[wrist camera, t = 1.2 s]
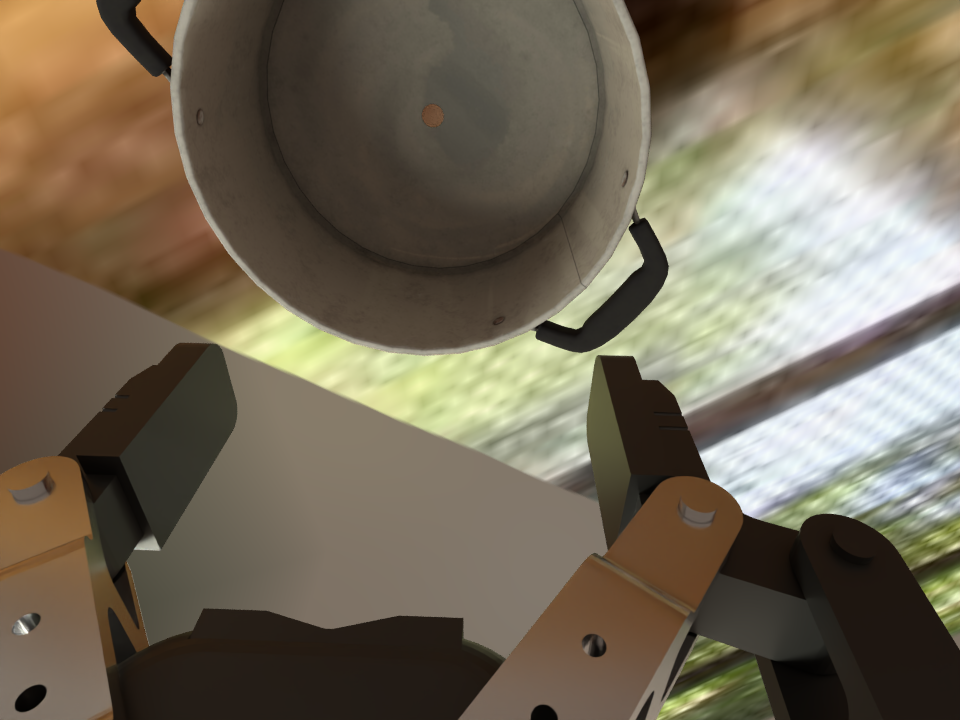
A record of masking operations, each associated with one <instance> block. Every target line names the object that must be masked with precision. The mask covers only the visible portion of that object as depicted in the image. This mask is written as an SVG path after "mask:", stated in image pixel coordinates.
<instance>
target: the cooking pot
mask: <svg viewBox="0 0 960 720" xmlns="http://www.w3.org/2000/svg"><path fill="white" fill-rule="evenodd" d="M140 1H141V0H96V2H97V7H98V10H99V13H100V16H101V18H102V20H103V21H104V23H105V24H106V26H107V27H108V29H109V30H110V31H111V33H112V34H113V35H114V36H115V37H116V38H117V39H118V40H119V42H120V43H121V44H122V45H123V46H124V47H125V48H126V49H127V50H128V51H129V52H130V53H131V54H132V55H133V56H134V57H135V59H136V60H137V61H138V62H139V63H140V64H141V65H142V66H143V67H144V68H145V69H146V70H147V71H148V72H149V73H150V74H151V75H152V76H155V77H157V76H159V75H161V74H162V73H163V75H164V76H165V77H166V78H167V79H168V81H169V82H170V90H171V100H172V111H173V121H174V131H175V136H176V140H177V144H178V148H179V151H180V155H181V159H182V162H183V166H184V170H185V173H186V177H187V180H188V182H189V184H190V186H191V188H192V191H193V193H194V195H195V197H196V199H197V201H198V204H199V206H200V208H201V210H202V212H203V214H204V217H205V219H206V220H207V222H208V223H209V225H210V226H211V228H212V229H213V231H214V232H215V234H216V235H217V237H218V238H219V240H220V241H221V243H222V244H223V246H224V247H225V249H226V250H227V252H228V253H229V255H230V256H231V257H232V258H233V259H234V260H235V261H236V262H237V264H238V265H239V266H240V267H241V268H242V269H243V270H244V271H245V272H246V274H247V275H248V276H249V277H250V278H251V279H252V280H253V281H254V282H255V284H256V285H258V286H259V287H260V288H261V289H262V290H264V291H265V292H266V293H267V294H268V295H270V296H271V297H272V298H273V299H274V300H276V301H277V302H278V303H279V304H281V305H282V306H283V307H284V308H285V309H287V310H288V311H290V312H291V313H293V314H295V315H296V316H298V317H300V318H301V319H303V320H305V321H306V322H308V323H310V324H311V325H313V326H315V327H316V328H318V329H320V330H322V331H324V332H327V333H329V334H332V335H334V336H337V337H339V338H341V339H344V340H346V341H349V342H351V343H354V344H357V345H361V346H365V347H370V348H374V349H378V350H382V351H386V352H390V353H401V354H412V355H423V356H428V355H444V354H459V353H464V352H468V351H473V350H477V349H481V348H486V347H490V346H494V345H497V344H499V343H502V342H504V341H506V340H509V339H511V338H514V337H516V336H519V335H521V334H523V333H526V332H528V331H530V330H532V331H536V339H538V340H540V341H543V342H546V343H548V344H551V345H553V346H556V347H559V348H562V349H565V350H568V351H572V352H579V353H583V352H588V351H591V350H593V349H596V348H598V347H600V346H602V345H603V344H605V343H606V342H608V341H609V340H611V339H612V338H614V337H615V336H617V335H618V334H619V333H620V332H621V331H622V330H623V329H624V328H626V327H627V326H628V325H629V324H630V323H631V322H632V321H633V320H634V319H635V318H636V317H637V316H638V315H639V314H640V313H641V312H642V311H643V310H644V309H645V308H646V307H647V306H648V305H649V304H650V303H651V302H652V301H653V299H654V298H655V296H656V295H657V294H658V292H659V291H660V289H661V288H662V287H663V284H664V282H665V280H666V277H667V275H668V267H669V265H668V262H667V258H666V255H665V253H664V251H663V249H662V247H661V245H660V243H659V241H658V239H657V237H656V235H655V233H654V231H653V230H652V228H651V226H650V224H649V222H648V221H647V220H646V219H645V218H642V219H640V218H639V216H638V213H637V210H636V204H637V201H638V198H639V195H640V192H641V189H642V186H643V183H644V180H645V174H646V167H647V161H648V154H649V148H650V142H651V102H650V85H649V80H648V75H647V71H646V66H645V61H644V57H643V52H642V47H641V43H640V38H639V35H638V33H637V31H636V28H635V26H634V23H633V21H632V19H631V16H630V14H629V11H628V9H627V7H626V4H625V2H624V0H184V3H183V7H182V10H181V14H180V18H179V21H178V25H177V28H176V32H175V36H174V43H173V56H172V57H171V56H170V55H169V54H168V53H167V52H166V51H165V50H164V48H163V47H162V46H161V45H160V44H159V43H158V42H157V41H156V40H155V39H154V38H153V37H152V36H151V35H150V33H149V32H148V31H147V29H146V28H145V27H144V26H143V24H142V23H141V22H140V21H139V19H138V18H137V17H136V8H135V7H136V6H137V5H138V4H139V3H140ZM171 65H172V69H170V66H171ZM429 104H436V105H438V106H439V107H440V108H441V109H442V110H443V113H444V119H443V122H442V123H441V124H440V126H438V127H429V126H427V125H426V124H425V123H424V121H423V119H422V111H423V109H424V108H425V106H427V105H429ZM631 219H633V222H634V223H633V224H632V225H631V226H629V231H630V233H631V234H632V236H633V238H634V240H635V241H636V243H637V245H638V247H639V249H640V251H641V254H642V256H643V259H644V263H643V265H642V267H640V268H639V269H637V270H636V271H634V272H633V273H632V274H631V275H630V276H629V277H628V279H627V280H626V281H625V282H624V283H623V284H622V285H621V286H620V287H619V288H618V289H617V290H616V291H615V293H614V294H613V295H612V296H611V297H610V298H609V299H608V300H607V301H606V302H605V303H604V304H603V305H602V306H601V307H600V308H599V309H598V310H596V311H595V312H594V313H593V314H592V315H591V316H590V317H589V318H588V319H587V320H586V321H585V323H584V325H583V326H582V327H581V328H579V329H572V328H568V327H564V326H561V325H558V324H556V323H553V322H550V321H547V319H549V318H551V317H552V316H554V315H556V314H557V313H559V312H560V311H561V310H562V309H563V308H564V307H566V306H567V305H568V304H569V303H570V302H571V301H572V300H573V299H575V298H576V297H577V296H578V295H579V294H580V293H581V292H583V291H584V290H585V289H586V288H587V287H588V286H589V284H590V283H591V282H592V281H593V279H594V278H595V277H596V276H597V274H598V273H599V272H600V270H601V269H602V268H603V267H604V265H605V264H606V263H607V262H608V260H609V259H610V258H611V256H612V254H613V253H614V251H615V249H616V247H617V245H618V243H619V242H620V240H621V238H622V236H623V234H624V232H625V231H626V229H627V227H628V225H629V223H630V221H631Z"/></svg>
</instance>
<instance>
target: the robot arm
mask: <svg viewBox="0 0 960 720" xmlns="http://www.w3.org/2000/svg"><path fill="white" fill-rule="evenodd" d="M236 419H237V403H236V399H235V395H234V391H233V388H232V384H231V380H230V376H229V373H228V369H227V365H226V362H225V358H224V355H223V352H222V349H221V348H220V347H219V346H218V345H217V344H206V343H205V344H204V343H179V344H177V345H175V346H174V347H173V349H172V350H171V351H170V352H169V353H168V354H167V355H166V356H165V357H164V358H163V360H162V361H161V362H160V363H159V364H158V365H152V366H151V367H149V368H147V369H146V370H144V371H142V372H141V373H139V374H137V375H136V376H134V377H133V378H131V379H130V380H129V381H128V382H127V383H126V384H125V385H124V386H123V387H122V388H121V389H120V390H119V391H118V392H117V393H116V394H115V398H112V399H111V400H110V401H109V402H108V403H107V404H106V405H105V406H104V407H103V411H102V412H99V413H98V414H97V415H96V416H95V417H94V418H93V419H92V420H91V421H90V422H89V423H88V424H87V425H86V426H85V427H84V428H83V429H82V431H81V432H80V433H79V434H78V435H77V436H76V437H75V438H74V439H73V440H72V441H71V442H70V443H69V444H68V446H66V448H65V449H64V450H63V451H62V452H61V453H60V454H59V455H58V456H50V457H43V458H38V459H34V460H31V461H28V462H25V463H22V464H20V465H18V466H16V467H14V468H11V469H10V470H8V471H6V472H4V473H3V474H1V475H0V720H656V718H657V716H658V714H659V712H660V710H661V708H662V706H663V705H664V703H665V701H666V699H667V697H668V695H669V693H670V691H671V689H672V687H673V685H674V684H675V682H676V680H677V678H678V676H679V674H680V672H681V670H682V668H683V666H684V664H685V662H686V661H687V659H688V657H689V655H690V653H691V651H692V649H693V647H694V645H695V643H696V641H697V640H698V638H699V636H700V635H701V636H704V637H707V638H710V639H713V640H716V641H719V642H722V643H724V644H727V645H730V646H733V647H736V648H739V649H742V650H745V651H748V652H751V653H754V654H755V657H756V660H757V663H758V667H759V670H760V673H761V676H762V679H763V683H764V686H765V689H766V692H767V695H768V698H769V702H770V705H771V708H772V711H773V714H774V718H775V720H960V650H959V648H958V646H957V645H956V643H955V642H954V640H953V638H952V637H951V635H950V634H949V632H948V630H947V629H946V627H945V626H944V624H943V622H942V621H941V619H940V618H939V616H938V614H937V613H936V611H935V610H934V608H933V606H932V605H931V603H930V602H929V600H928V598H927V597H926V595H925V594H924V592H923V590H922V589H921V587H920V586H919V584H918V582H917V581H916V579H915V578H914V576H913V574H912V573H911V571H910V570H909V568H908V566H907V565H906V563H905V562H904V560H903V558H902V557H901V555H900V554H899V552H898V551H897V549H896V548H895V547H894V546H893V545H892V543H891V542H890V541H889V540H888V539H886V538H885V537H884V536H883V535H882V534H880V533H879V532H878V531H876V530H875V529H873V528H871V527H870V526H868V525H866V524H864V523H862V522H860V521H858V520H855V519H852V518H849V517H846V516H842V515H836V514H819V515H815V516H812V517H810V518H808V519H806V521H805V522H804V523H803V524H802V526H801V528H800V530H799V531H797V530H793V529H789V528H786V527H782V526H778V525H775V524H771V523H768V522H764V521H761V520H758V519H755V518H752V517H750V516H747V515H745V514H743V513H742V510H741V508H740V506H739V504H738V503H737V501H736V500H735V499H734V498H733V496H732V495H731V494H729V493H728V492H727V491H726V490H724V489H723V488H722V487H720V486H718V485H716V484H715V483H713V482H711V481H710V479H709V477H708V474H707V472H706V470H705V467H704V465H703V462H702V460H701V458H700V455H699V453H698V450H697V448H696V446H695V443H694V441H693V439H692V436H691V434H690V431H688V427H687V424H686V422H685V419H684V417H683V416H682V412H681V410H680V407H679V405H678V403H677V400H676V398H675V396H674V395H673V394H672V393H671V392H670V391H669V390H668V389H667V388H666V387H665V386H664V385H663V384H661V383H660V382H659V381H658V380H642V378H641V375H640V372H639V370H638V367H637V364H636V361H635V359H634V357H633V356H607V355H598V356H597V357H596V360H595V364H594V371H593V378H592V385H591V392H590V399H589V406H588V413H587V441H588V447H589V453H590V458H591V463H592V469H593V474H594V479H595V485H596V490H597V495H598V501H599V506H600V511H601V517H602V522H603V528H604V533H605V538H606V544H607V549H608V551H607V553H606V554H605V555H604V556H603V557H601V556H600V555H598V554H596V553H593V554H591V555H590V556H589V557H588V558H587V559H586V560H585V561H584V562H583V563H582V564H581V566H580V567H579V568H578V569H577V571H576V572H575V573H574V575H573V576H572V577H571V578H570V580H569V581H568V582H567V583H566V584H565V586H564V587H563V588H562V590H561V591H560V592H559V593H558V595H557V596H556V597H555V598H554V600H553V601H552V602H551V603H550V605H549V606H548V607H547V609H546V610H545V611H544V612H543V614H542V615H541V616H540V617H539V618H538V620H537V621H536V622H535V624H534V625H533V626H532V627H531V629H530V630H529V631H528V632H527V634H526V635H525V636H524V637H523V639H522V640H521V641H520V642H519V644H518V645H517V646H516V648H515V649H514V650H513V651H512V652H511V654H510V655H509V656H508V657H507V659H505V658H504V657H502V656H501V655H499V654H497V653H496V652H494V651H493V650H491V649H489V648H486V647H484V646H482V645H480V644H478V643H475V642H472V641H469V640H466V639H463V618H446V617H418V616H396V617H391V618H386V619H380V620H376V621H371V622H366V623H361V624H356V625H351V626H346V627H341V628H336V629H324V628H320V627H317V626H314V625H311V624H308V623H304V622H301V621H298V620H295V619H291V618H288V617H285V616H282V615H279V614H275V613H272V612H269V611H256V610H229V609H203V611H202V613H201V615H200V617H199V619H198V621H197V623H196V626H195V628H194V630H193V631H189V632H185V633H182V634H179V635H175V636H172V637H170V638H167V639H165V640H162V641H160V642H157V643H155V644H153V645H151V646H149V643H148V639H147V635H146V631H145V627H144V622H143V618H142V614H141V610H140V606H139V602H138V598H137V594H136V590H135V585H134V581H133V577H132V573H131V570H130V568H129V565H128V564H127V559H128V558H129V556H130V555H131V553H132V552H133V550H136V549H137V550H161V549H162V547H163V545H164V544H165V542H166V540H167V539H168V537H169V536H170V534H171V532H172V531H173V529H174V527H175V526H176V524H177V522H178V521H179V519H180V517H181V516H182V514H183V512H184V511H185V509H186V507H187V506H188V504H189V503H190V501H191V499H192V498H193V496H194V494H195V492H196V491H197V489H198V488H199V486H200V484H201V483H202V481H203V479H204V478H205V476H206V474H207V472H208V471H209V469H210V468H211V466H212V464H213V463H214V461H215V459H216V458H217V456H218V454H219V453H220V451H221V449H222V448H223V446H224V444H225V443H226V441H227V439H228V438H229V436H230V435H231V433H232V431H233V429H234V427H235V423H236Z"/></svg>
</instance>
